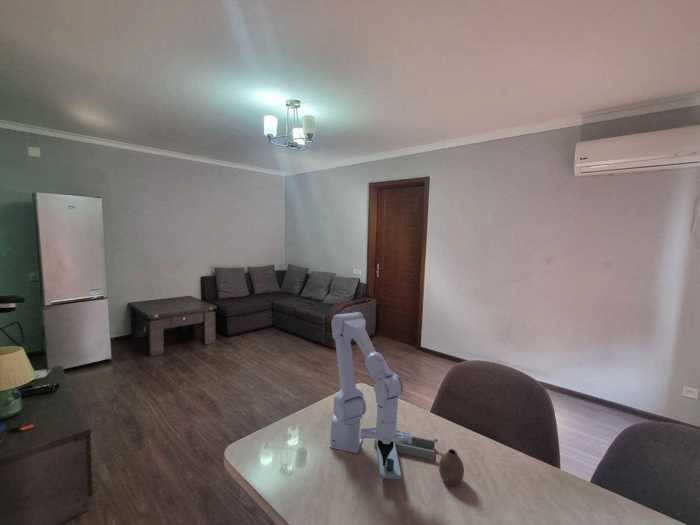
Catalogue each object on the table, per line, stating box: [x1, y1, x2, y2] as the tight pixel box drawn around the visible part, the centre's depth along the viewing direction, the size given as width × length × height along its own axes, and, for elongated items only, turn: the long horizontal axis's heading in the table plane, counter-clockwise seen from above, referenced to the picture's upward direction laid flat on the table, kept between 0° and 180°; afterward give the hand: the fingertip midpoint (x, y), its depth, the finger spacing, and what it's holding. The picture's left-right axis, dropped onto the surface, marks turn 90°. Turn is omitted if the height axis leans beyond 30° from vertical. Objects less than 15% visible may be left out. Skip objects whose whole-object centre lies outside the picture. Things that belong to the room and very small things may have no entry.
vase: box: [438, 448, 465, 487], centre depth 91 cm, size 7×7×9 cm
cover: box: [376, 439, 402, 480], centre depth 96 cm, size 18×6×4 cm, turn 179°
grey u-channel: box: [374, 435, 439, 461], centre depth 105 cm, size 20×6×4 cm, turn 75°
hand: (384, 463), depth 91 cm, fingers closed
